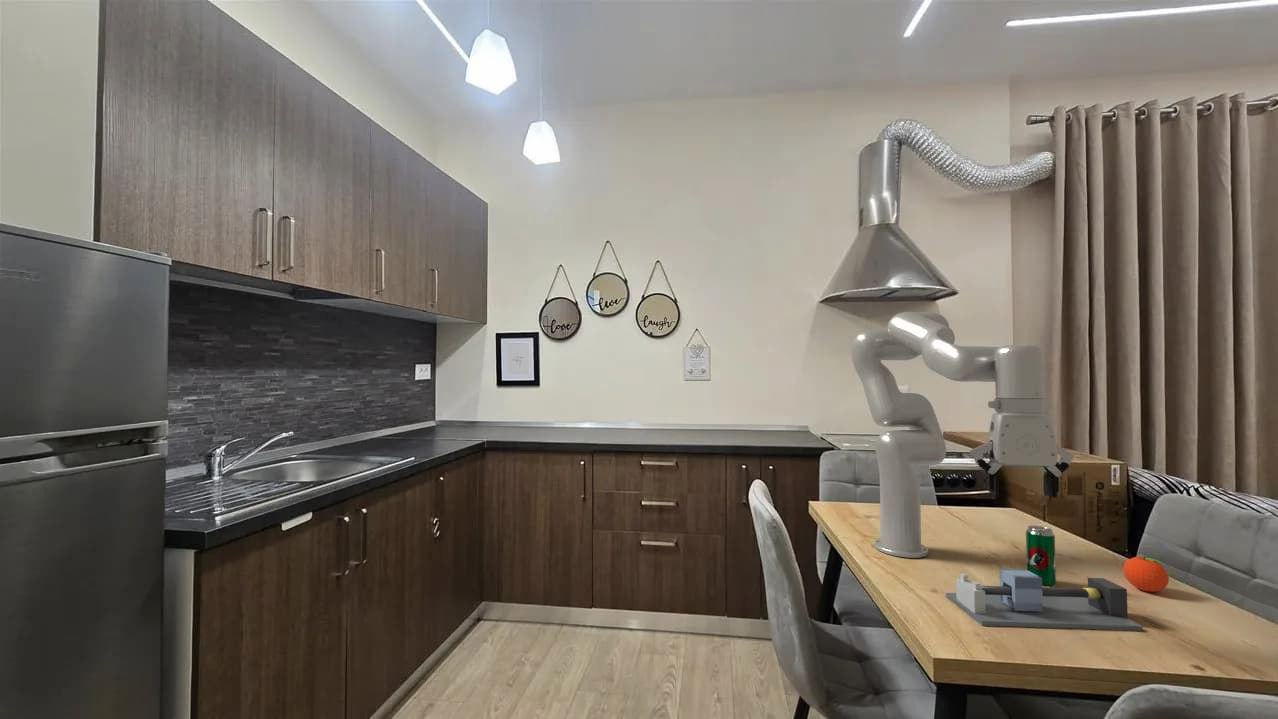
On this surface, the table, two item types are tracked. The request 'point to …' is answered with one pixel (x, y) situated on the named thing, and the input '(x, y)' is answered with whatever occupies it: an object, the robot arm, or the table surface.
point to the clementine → (1146, 574)
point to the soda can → (1041, 553)
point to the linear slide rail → (1049, 606)
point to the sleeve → (1022, 589)
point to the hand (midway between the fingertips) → (1021, 494)
